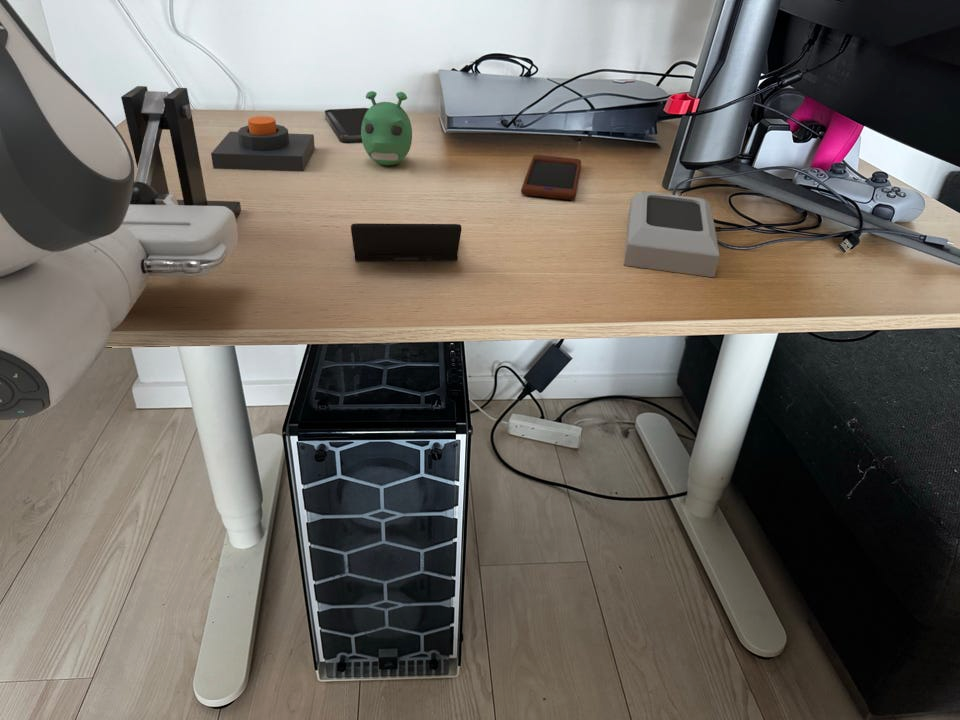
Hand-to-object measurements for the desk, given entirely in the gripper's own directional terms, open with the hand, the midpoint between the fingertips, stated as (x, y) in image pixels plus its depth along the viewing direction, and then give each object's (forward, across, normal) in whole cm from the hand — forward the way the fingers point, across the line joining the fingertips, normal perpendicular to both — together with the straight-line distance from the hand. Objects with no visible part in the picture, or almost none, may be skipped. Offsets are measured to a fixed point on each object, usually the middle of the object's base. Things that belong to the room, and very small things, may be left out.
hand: (143, 200), depth 68 cm
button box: (+33, -4, +7) cm, 34 cm away
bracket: (+8, 0, +7) cm, 10 cm away
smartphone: (+27, -44, +8) cm, 53 cm away
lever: (+4, 0, -2) cm, 5 cm away
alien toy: (+32, -21, +8) cm, 39 cm away
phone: (+49, -16, +8) cm, 52 cm away
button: (+33, -5, +4) cm, 34 cm away
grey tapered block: (+7, -55, +7) cm, 56 cm away
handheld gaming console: (+3, -25, +7) cm, 26 cm away
